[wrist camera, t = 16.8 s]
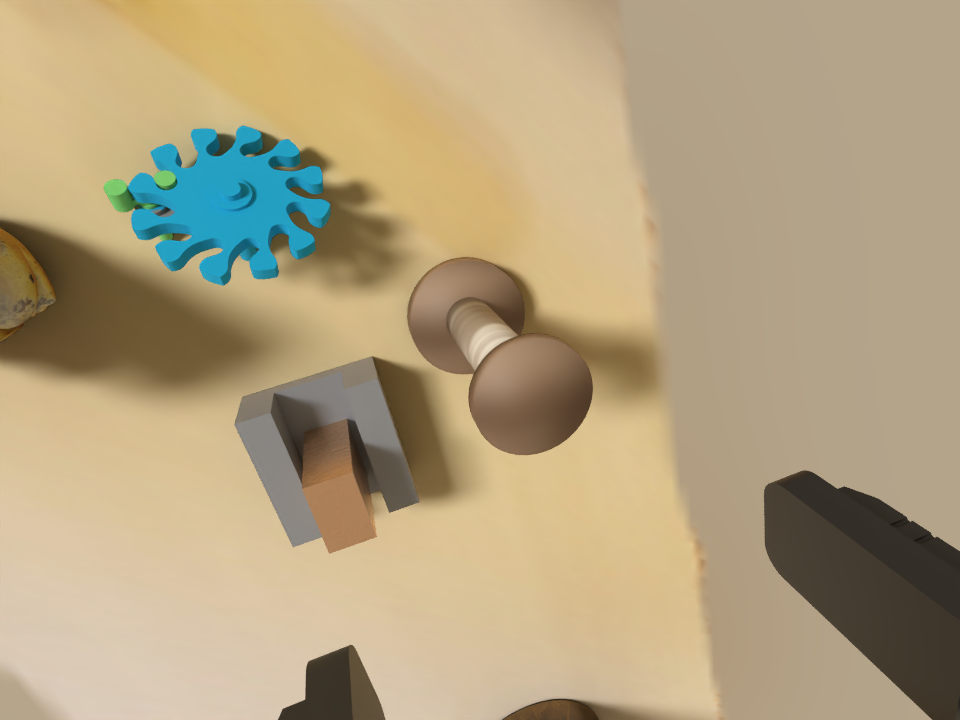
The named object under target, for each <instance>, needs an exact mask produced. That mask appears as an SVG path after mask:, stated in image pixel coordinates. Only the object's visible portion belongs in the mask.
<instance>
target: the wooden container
mask: <svg viewBox="0 0 960 720" xmlns="http://www.w3.org/2000/svg"><path fill="white" fill-rule="evenodd" d="M503 720H599V719H598V717H597V716H596V714H595V713H594V712H593V711H592V710H591V709H590V708H588V707H587V706H585V705H583V704H580V703H577V702H573V701H568V700H552V701H546V702H541V703H537V704H534V705H531V706H528V707H526V708H523V709H521V710H519V711H517V712H515V713H513V714H511V715H510V716H508V717H506V718H505V719H503Z"/></svg>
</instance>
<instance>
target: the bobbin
mask: <svg viewBox="0 0 960 720" xmlns="http://www.w3.org/2000/svg"><path fill="white" fill-rule="evenodd" d="M407 317H408V326H409V330H410V333H411V336H412V338H413V340H414V342H415V344H416V346H417V348H418V350H419V351H420V353H421V354H422V355H423V357H424V358H425V359H426V360H427V361H428V362H430V363H431V364H432V365H434V366H435V367H437V368H439V369H441V370H444V371H446V372H450V373H454V374H472V373H474V374H473V377H472V380H471V383H470V387H469V396H468V397H469V407H470V412H471V414H472V417H473V419H474V421H475V423H476V425H477V427H478V428H479V430H480V432H481V434H482V435H483V436H484V438H485V439H486V440H487V441H488V442H489V443H490V444H492V445H493V446H494V447H496V448H498V449H500V450H501V451H504V452H507V453H510V454H515V455H532V454H538V453H541V452H545V451H547V450H550V449H552V448H554V447H556V446H558V445H559V444H561V443H562V442H564V441H565V440H567V439H568V438H569V437H570V436H571V435H572V434H573V433H574V432H575V431H576V430H577V429H578V427H579V426H580V425H581V423H582V422H583V420H584V418H585V417H586V414H587V412H588V410H589V407H590V404H591V400H592V392H593V385H592V378H591V374H590V371H589V368H588V366H587V364H586V363H585V361H584V360H583V359H582V357H581V356H580V355H579V354H578V353H577V352H576V351H575V350H573V349H572V348H571V347H570V346H569V345H567V344H566V343H565V342H563V341H562V340H560V339H558V338H556V337H553V336H550V335H546V334H539V333H531V334H523V335H521V332H522V329H523V325H524V303H523V299H522V296H521V294H520V291H519V289H518V288H517V286H516V284H515V283H514V282H513V280H512V279H511V278H510V277H509V276H508V275H507V274H506V273H504V272H503V271H502V270H500V269H499V268H497V267H496V266H495V265H493V264H491V263H489V262H487V261H484V260H481V259H477V258H469V257H463V258H455V259H451V260H448V261H445V262H443V263H441V264H439V265H437V266H435V267H434V268H432V269H431V270H430V271H428V272H427V273H426V274H425V275H424V276H423V277H422V278H421V280H420V281H419V282H418V284H417V285H416V287H415V288H414V291H413V293H412V295H411V298H410V301H409V305H408V315H407Z"/></svg>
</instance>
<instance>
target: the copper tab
mask: <svg viewBox="0 0 960 720" xmlns="http://www.w3.org/2000/svg"><path fill="white" fill-rule="evenodd" d="M302 491H303V493H304V495H305V498H306V500H307V502H308V505H309V507H310V509H311V512H312V514H313V516H314V519H315V521H316V523H317V526H318V528H319V530H320V533H321V535H322V538H323V540H324V542H325V545H326V547H327V549H328V552H329V554H330V553H332V552H335V551H338V550H341V549H344V548H347V547H350V546H352V545H355V544H358V543H361V542H364V541H367V540H370V539H372V538H375V537H377V535H376V528H375V521H374V514H373V508H372V501H371V494H370V487H369V481H368V475H367V472H366V470H365V467H364V464H363V461H362V459H361V456H360V453H359V450H358V447H357V445H356V442H355V439H354V436H353V434H352V431H351V428H350V425H349V423H348V420H347V419H344V420H341V421H338V422H335V423H331V424H328V425H325V426H322V427H319V428H315V429H312V430H309V431H306V432H304V452H303V474H302Z"/></svg>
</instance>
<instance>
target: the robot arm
mask: <svg viewBox="0 0 960 720" xmlns="http://www.w3.org/2000/svg"><path fill="white" fill-rule="evenodd" d="M764 509H765V510H764V513H765V514H764V515H765V547H766V551H767V554H768V556H769V558H770V560H771V562H772V564H773V566H774V567H775V569H776V570H777V571H778V573H779V574H780V575H781V576H782V577H783V578H784V579H785V580H786V581H787V582H788V583H789V584H790V585H791V586H792V587H793V588H794V589H795V590H796V591H798V592H799V593H800V594H801V595H802V596H803V597H804V598H805V599H806V600H807V601H808V602H809V603H810V604H811V605H812V606H813V607H814V608H815V609H817V610H818V611H819V612H820V613H821V614H822V615H823V616H824V617H825V618H826V619H827V620H828V621H829V622H830V623H831V624H832V625H833V626H834V627H835V628H837V629H838V630H839V631H840V632H841V633H842V634H843V635H844V636H845V637H846V638H847V639H848V640H849V641H850V642H851V643H852V644H853V645H854V646H855V647H856V648H858V649H859V650H860V651H861V652H862V653H863V654H864V655H865V656H866V657H867V658H868V659H869V660H870V661H871V662H872V663H873V664H874V665H875V666H876V667H877V668H879V669H880V670H881V671H882V672H883V673H884V674H885V675H886V676H887V677H888V678H889V679H890V680H891V681H892V682H893V683H894V684H895V685H896V686H897V687H899V688H900V689H901V690H902V691H903V692H904V693H905V694H906V695H907V696H908V697H909V698H910V699H911V700H912V701H913V702H914V703H916V705H918V706H919V707H920V708H921V709H922V710H923V711H924V712H925V713H926V714H927V715H928V716H929V717H930V718H931V719H932V720H960V551H958V550H957V549H955V548H954V547H952V546H951V545H949V544H947V543H946V542H944V541H943V540H941V539H940V538H938V537H936V538H934V537H933V536H932V535H931V533H930V532H929V531H927V530H926V529H924V528H923V527H921V526H920V525H918V524H917V523H915V522H913V521H911V522H910V521H908V519H907V517H906V516H904V515H903V514H901V513H900V512H898V511H896V510H895V509H893V508H892V507H890V506H889V505H887V504H885V503H884V502H882V501H881V500H879V499H877V498H875V497H872V496H869V495H867V494H864V493H861V492H858V491H855V490H853V489H850V488H847V487H842V488H839V489H837V488H835V487H834V486H832V485H831V484H829V483H828V482H826V481H825V480H823V479H822V478H821V477H819V476H818V475H816V474H814V473H812V472H810V471H800V472H798V473H796V474H793V475H790V476H788V477H785V478H783V479H780V480H777V481H775V482H772V483H770V484H768V485H767V486H766V487H765V490H764ZM278 720H385V717H384V713H383V710H382V707H381V704H380V701H379V699H378V696H377V694H376V692H375V690H374V688H373V686H372V683H371V681H370V679H369V677H368V675H367V673H366V671H365V668H364V666H363V664H362V662H361V660H360V658H359V655H358V653H357V651H356V649H355V648H354V646H353V645H349V646H347V647H344V648H342V649H339V650H337V651H334V652H331V653H329V654H326V655H324V656H321V657H319V658H316V659H313V660H311V661H309V662H308V664H307V668H306V696H305V700H304V701H301V702H299V703H296V704H294V705H291V706H289V707H286V708H284V709H283V710H282V712H281V714H280V717H279V719H278Z"/></svg>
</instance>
